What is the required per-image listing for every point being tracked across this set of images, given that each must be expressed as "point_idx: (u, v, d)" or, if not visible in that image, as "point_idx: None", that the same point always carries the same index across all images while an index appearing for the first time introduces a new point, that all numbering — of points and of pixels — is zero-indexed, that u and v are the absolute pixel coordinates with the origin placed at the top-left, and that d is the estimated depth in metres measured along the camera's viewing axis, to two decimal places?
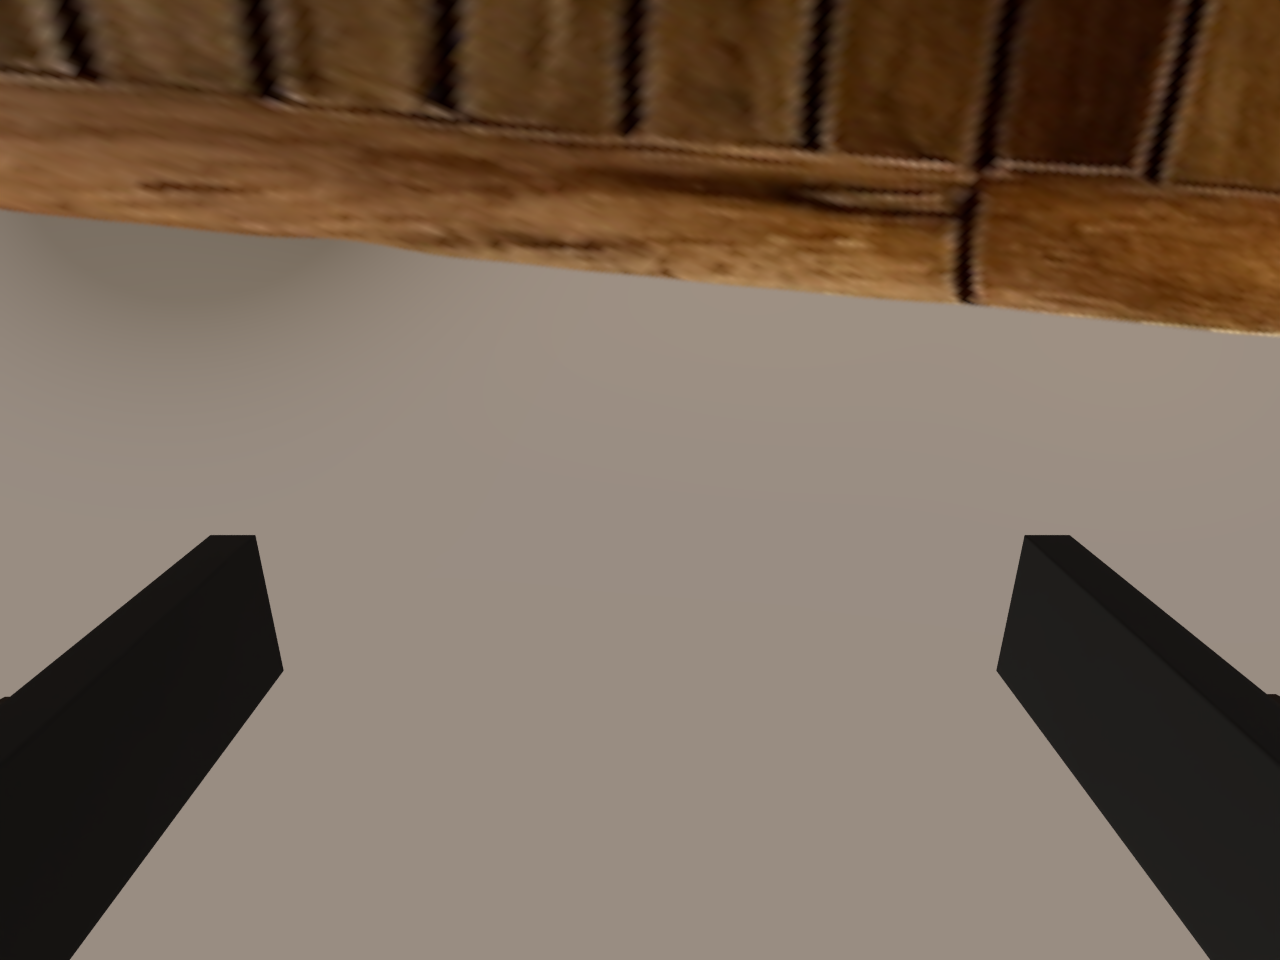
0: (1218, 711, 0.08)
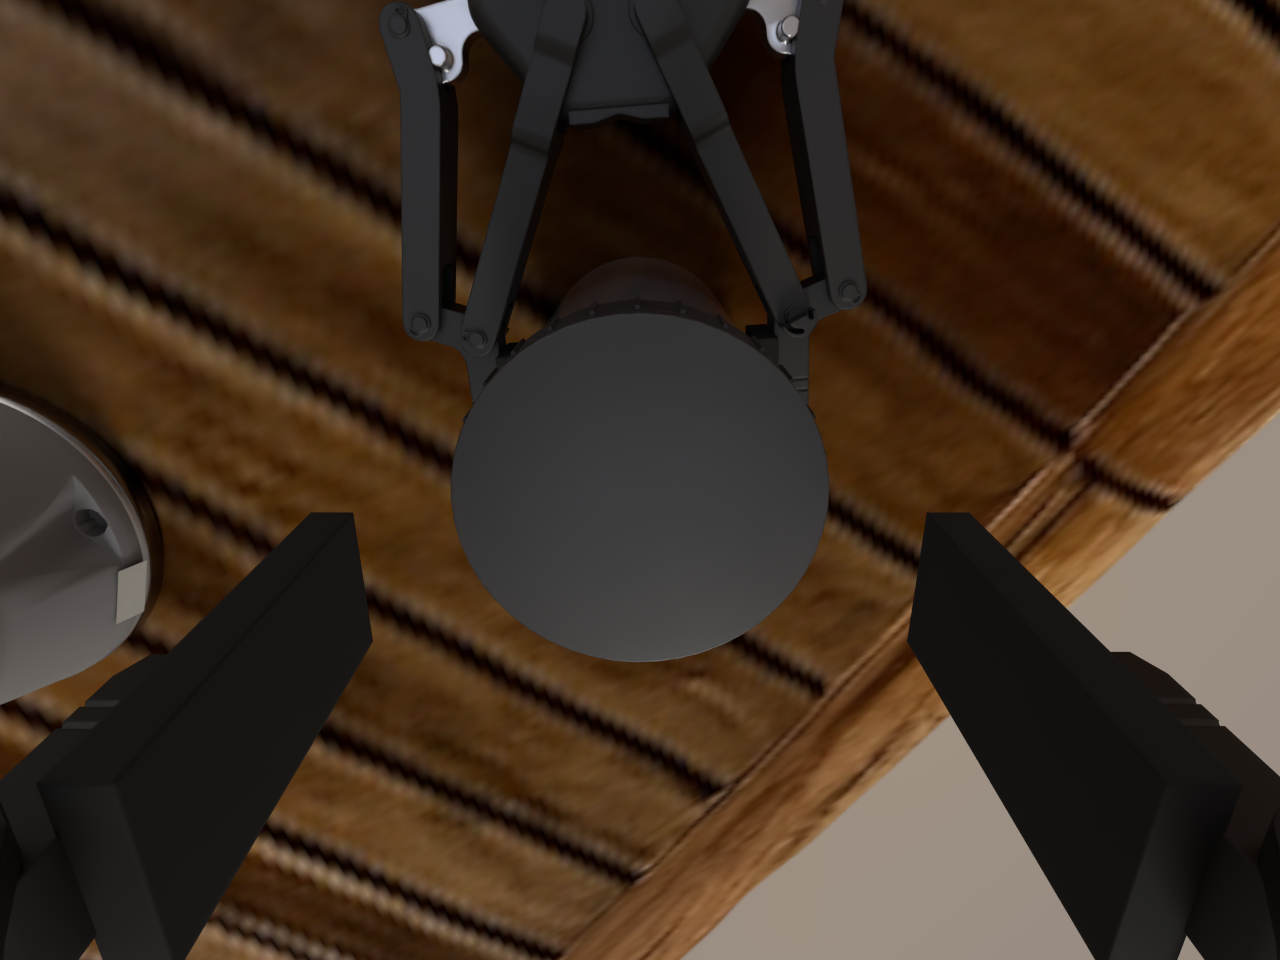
0: (1059, 661, 0.09)
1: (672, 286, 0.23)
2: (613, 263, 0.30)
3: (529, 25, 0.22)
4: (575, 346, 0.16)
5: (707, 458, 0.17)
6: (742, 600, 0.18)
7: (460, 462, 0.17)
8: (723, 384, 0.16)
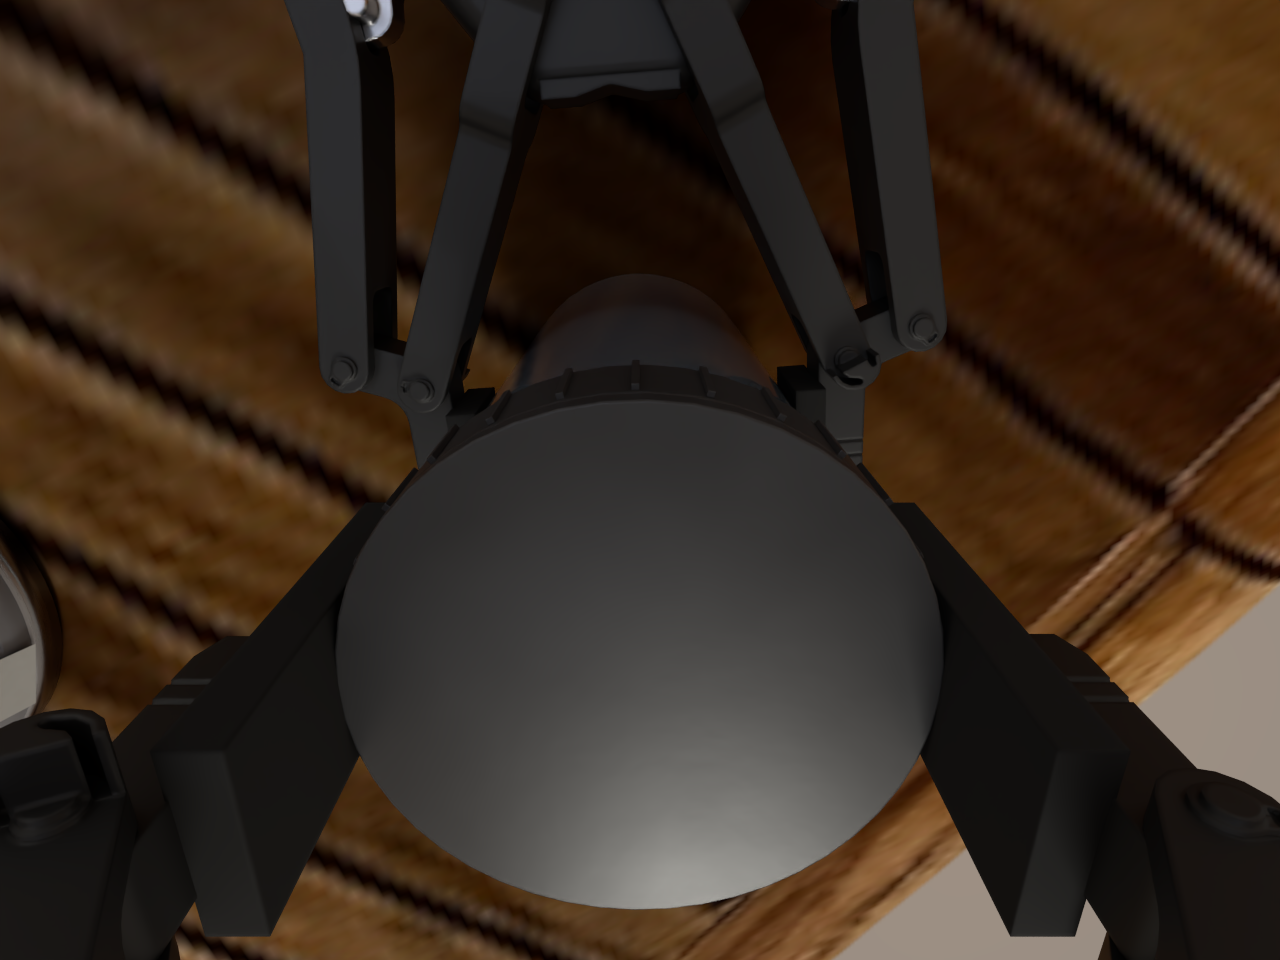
0: (977, 641, 0.10)
1: (684, 323, 0.17)
2: (605, 283, 0.24)
3: None
4: (531, 454, 0.09)
5: (749, 626, 0.10)
6: (799, 827, 0.12)
7: (348, 632, 0.10)
8: (779, 513, 0.10)
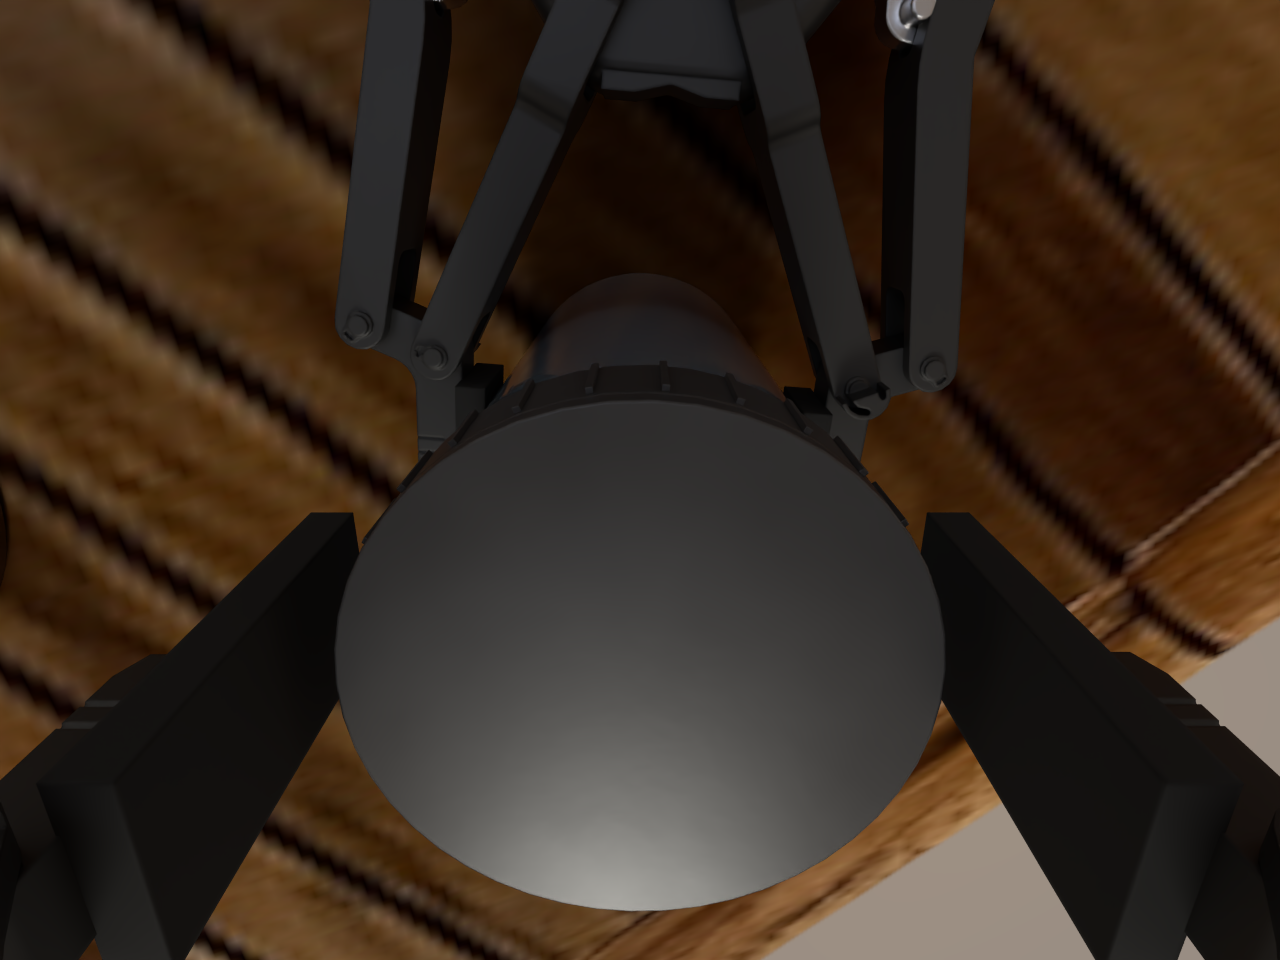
0: (1059, 662, 0.09)
1: (709, 330, 0.17)
2: (624, 278, 0.24)
3: None
4: (366, 653, 0.10)
5: (626, 579, 0.10)
6: (889, 644, 0.10)
7: (454, 848, 0.12)
8: (522, 501, 0.10)
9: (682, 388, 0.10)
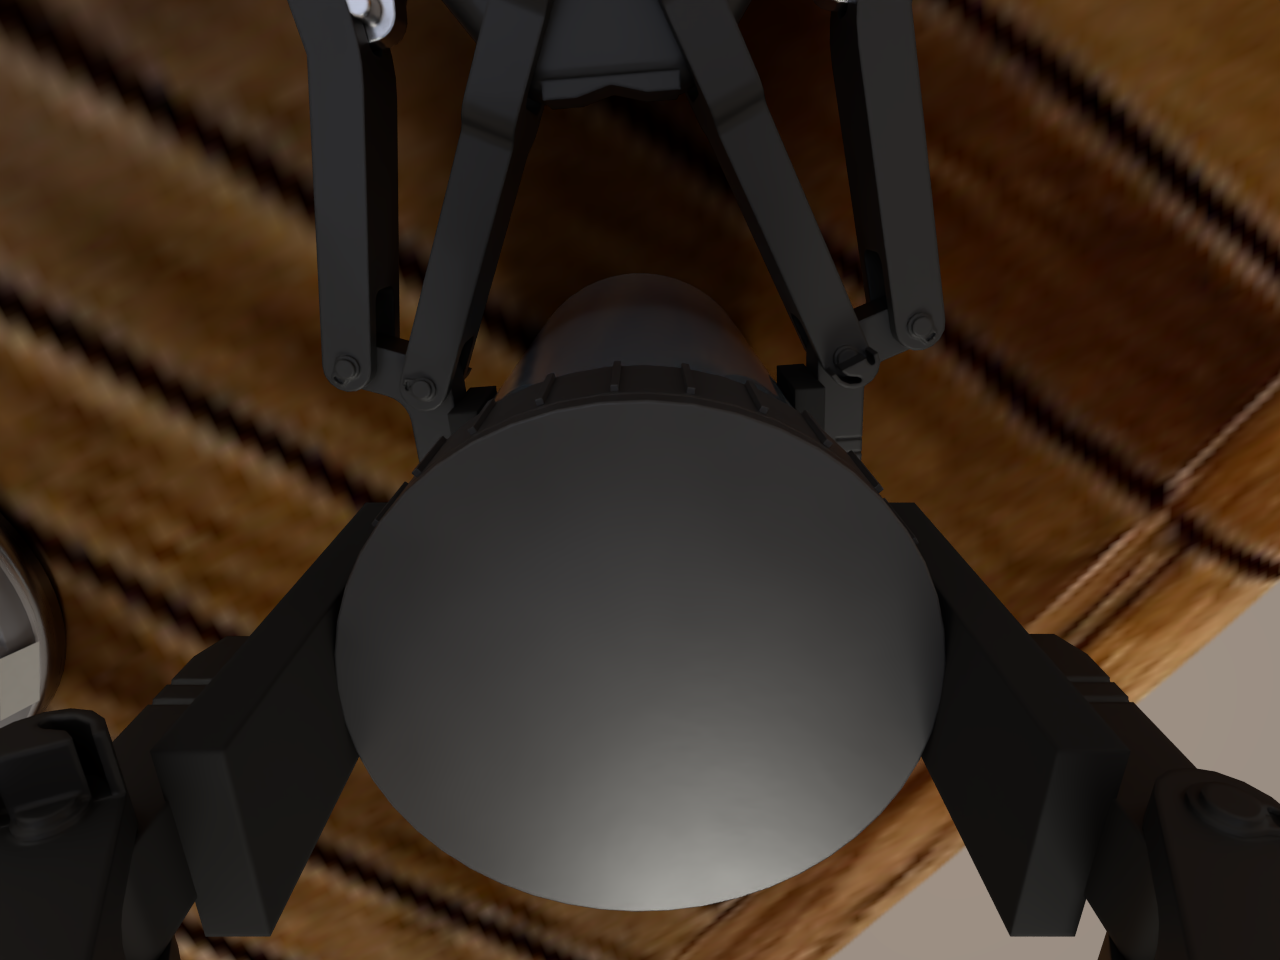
0: (976, 641, 0.10)
1: (684, 322, 0.17)
2: (606, 282, 0.24)
3: None
4: (368, 688, 0.11)
5: (605, 582, 0.10)
6: (881, 613, 0.10)
7: (486, 867, 0.12)
8: (490, 520, 0.10)
9: (632, 386, 0.10)
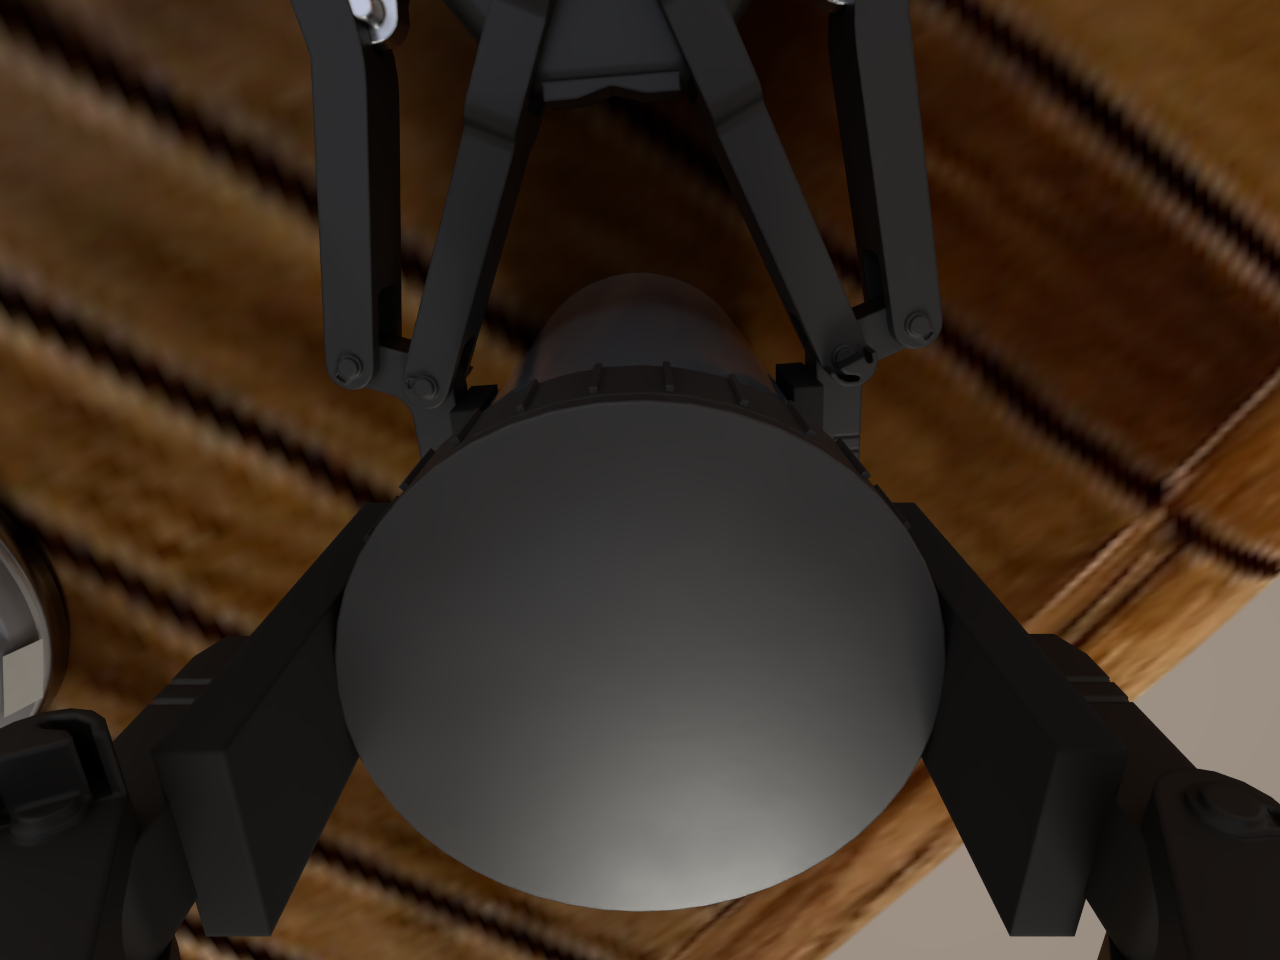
0: (977, 641, 0.10)
1: (684, 321, 0.17)
2: (606, 281, 0.24)
3: None
4: (543, 877, 0.12)
5: (508, 679, 0.11)
6: (639, 460, 0.09)
7: (776, 876, 0.12)
8: (418, 737, 0.11)
9: None
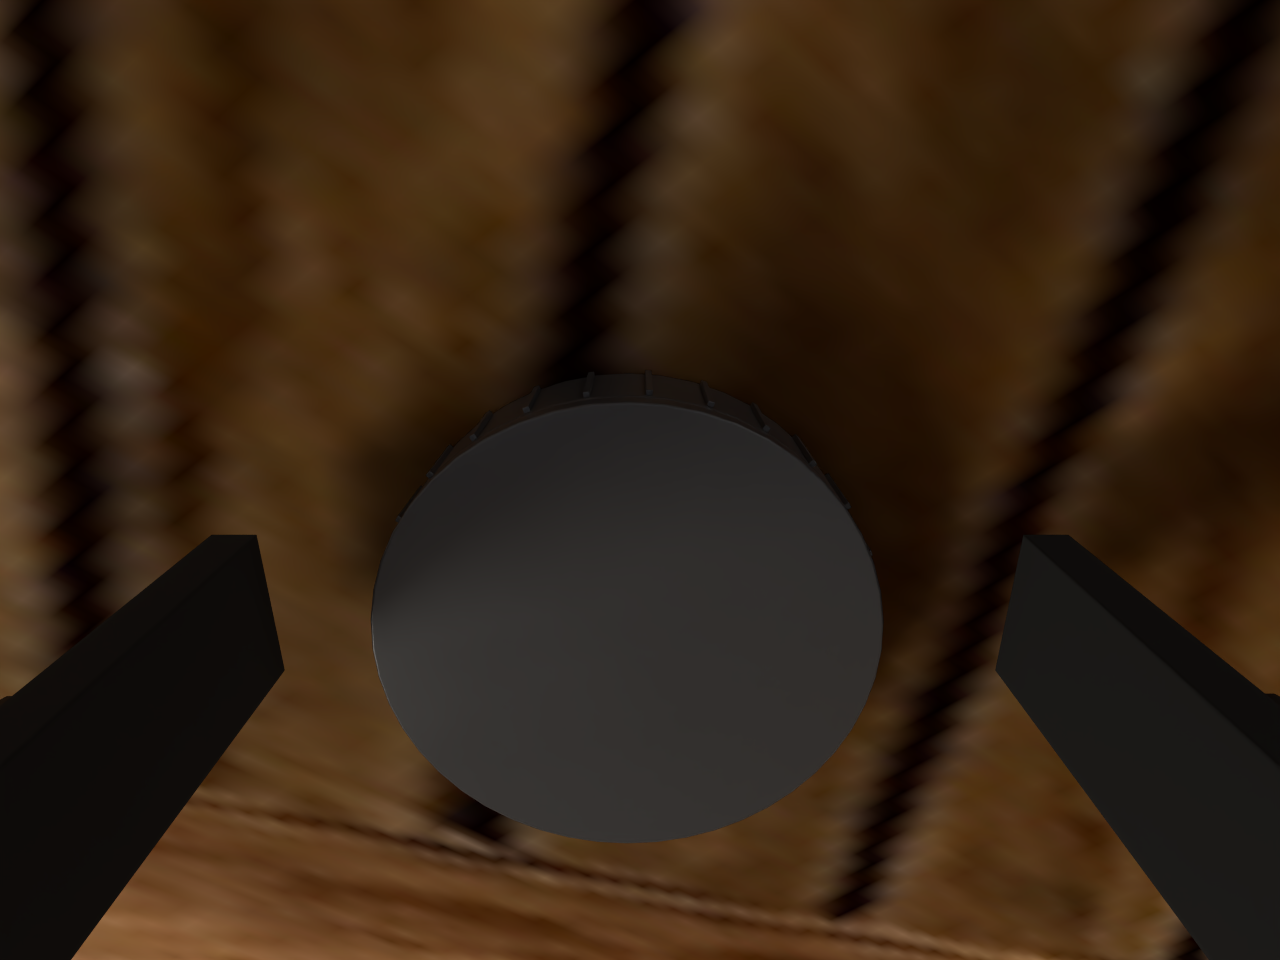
0: (1216, 710, 0.08)
1: None
2: None
3: None
4: (546, 812, 0.14)
5: (517, 637, 0.13)
6: (625, 451, 0.11)
7: (746, 810, 0.14)
8: (439, 688, 0.13)
9: None
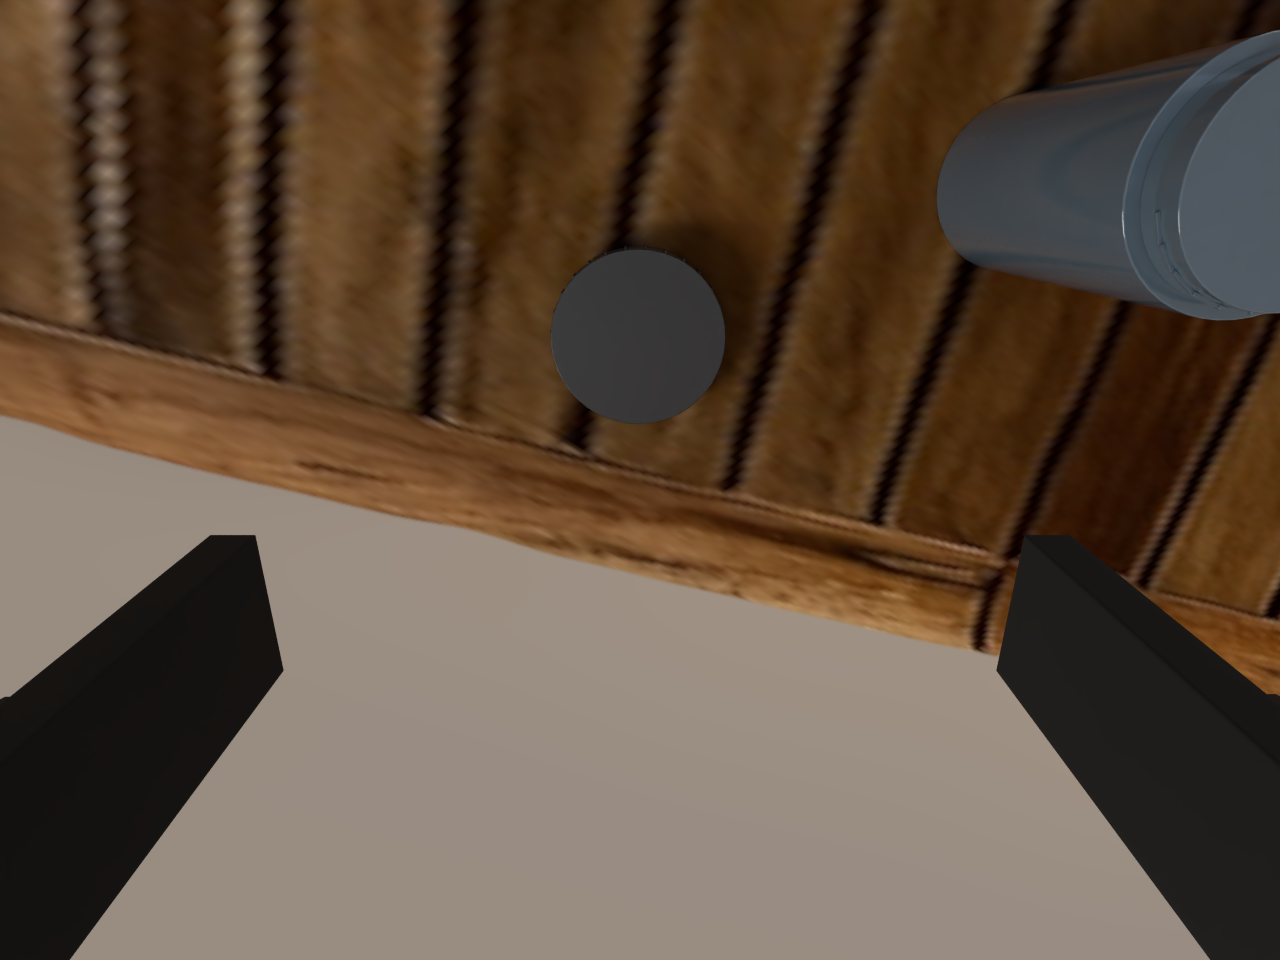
0: (1218, 711, 0.08)
1: None
2: None
3: None
4: (608, 409, 0.38)
5: (600, 335, 0.37)
6: (637, 266, 0.36)
7: (681, 408, 0.38)
8: (573, 355, 0.37)
9: None
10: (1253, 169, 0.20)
